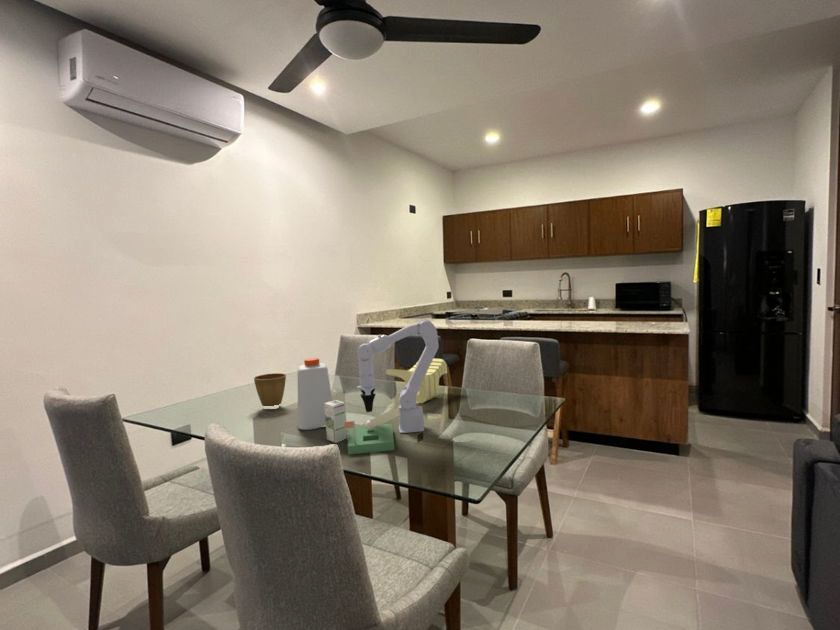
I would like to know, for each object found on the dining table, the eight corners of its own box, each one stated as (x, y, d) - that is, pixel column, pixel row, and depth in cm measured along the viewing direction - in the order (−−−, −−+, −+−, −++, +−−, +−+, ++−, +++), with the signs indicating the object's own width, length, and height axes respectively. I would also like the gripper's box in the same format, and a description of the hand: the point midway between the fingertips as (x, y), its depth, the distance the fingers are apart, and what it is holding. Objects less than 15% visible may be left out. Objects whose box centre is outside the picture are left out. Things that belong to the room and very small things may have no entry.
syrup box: (347, 439, 169) (345, 401, 167) (334, 443, 164) (332, 405, 163) (338, 435, 172) (336, 399, 171) (325, 440, 168) (323, 402, 167)
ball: (375, 428, 170) (375, 418, 170) (376, 431, 166) (375, 421, 166) (365, 429, 169) (364, 419, 169) (365, 432, 165) (364, 422, 165)
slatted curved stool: (415, 409, 203) (413, 370, 202) (388, 405, 212) (385, 368, 210) (448, 393, 228) (446, 359, 227) (422, 390, 237) (420, 357, 235)
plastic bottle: (298, 432, 180) (292, 363, 178) (298, 421, 194) (293, 358, 192) (336, 427, 184) (331, 360, 182) (333, 416, 198) (328, 354, 196)
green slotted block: (391, 431, 175) (389, 403, 174) (394, 449, 155) (392, 419, 154) (348, 435, 173) (346, 407, 172) (346, 454, 153) (343, 423, 152)
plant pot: (268, 414, 209) (265, 380, 207) (250, 410, 218) (247, 377, 216) (294, 406, 220) (292, 374, 219) (276, 402, 229) (274, 371, 228)
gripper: (356, 371, 180) (358, 404, 181) (356, 379, 165) (358, 415, 166) (374, 370, 180) (376, 403, 181) (375, 377, 166) (377, 413, 167)
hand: (369, 408), depth 174 cm, fingers open, 7 cm apart
